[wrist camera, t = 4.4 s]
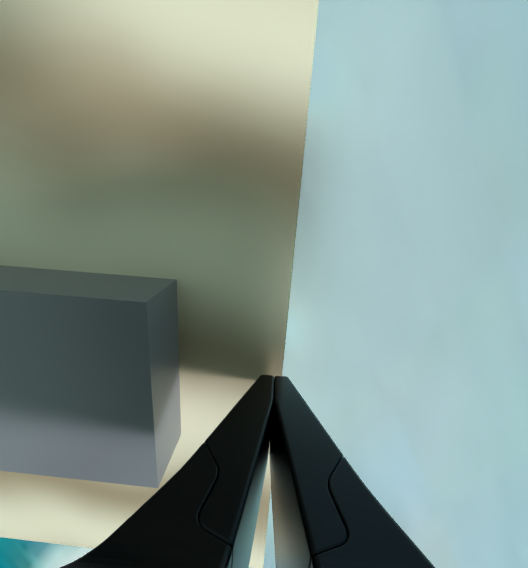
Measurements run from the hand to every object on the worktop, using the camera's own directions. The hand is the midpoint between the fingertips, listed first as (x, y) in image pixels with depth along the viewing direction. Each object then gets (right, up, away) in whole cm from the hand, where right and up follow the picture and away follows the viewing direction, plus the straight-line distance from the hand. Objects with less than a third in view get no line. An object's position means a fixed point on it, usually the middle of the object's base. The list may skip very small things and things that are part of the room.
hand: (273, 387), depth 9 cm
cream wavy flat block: (-7, +2, +3) cm, 7 cm away
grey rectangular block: (-8, +1, +1) cm, 8 cm away
